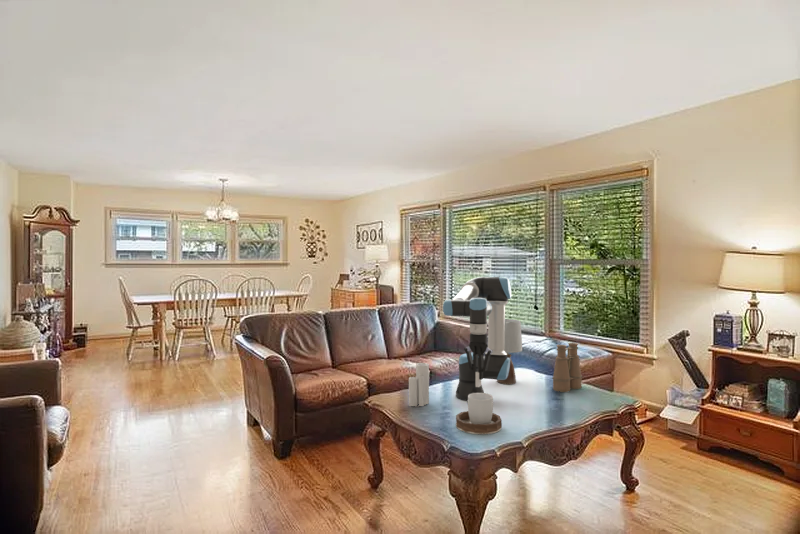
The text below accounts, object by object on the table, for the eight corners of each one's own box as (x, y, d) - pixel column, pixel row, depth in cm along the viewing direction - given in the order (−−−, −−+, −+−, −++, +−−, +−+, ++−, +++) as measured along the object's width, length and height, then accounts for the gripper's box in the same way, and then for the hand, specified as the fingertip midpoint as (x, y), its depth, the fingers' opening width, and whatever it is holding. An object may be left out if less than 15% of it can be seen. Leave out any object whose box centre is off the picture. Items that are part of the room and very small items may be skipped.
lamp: (493, 386, 274) (493, 322, 273) (488, 378, 292) (488, 318, 292) (525, 386, 273) (525, 322, 272) (518, 378, 292) (518, 318, 291)
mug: (463, 418, 216) (463, 390, 216) (486, 418, 217) (486, 389, 217) (471, 430, 201) (471, 400, 201) (496, 429, 202) (496, 399, 202)
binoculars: (563, 393, 259) (563, 347, 259) (548, 389, 267) (548, 345, 267) (585, 387, 271) (586, 343, 271) (570, 383, 279) (570, 341, 279)
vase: (421, 400, 247) (421, 362, 246) (432, 403, 242) (432, 364, 241) (406, 405, 239) (406, 366, 238) (417, 408, 234) (417, 368, 233)
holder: (447, 428, 206) (447, 419, 206) (467, 415, 222) (467, 407, 222) (491, 437, 195) (491, 428, 195) (508, 423, 212) (508, 415, 211)
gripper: (461, 333, 208) (461, 386, 209) (488, 335, 201) (488, 390, 201) (468, 330, 215) (468, 382, 215) (495, 333, 207) (495, 386, 208)
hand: (478, 386), depth 208 cm, fingers closed
